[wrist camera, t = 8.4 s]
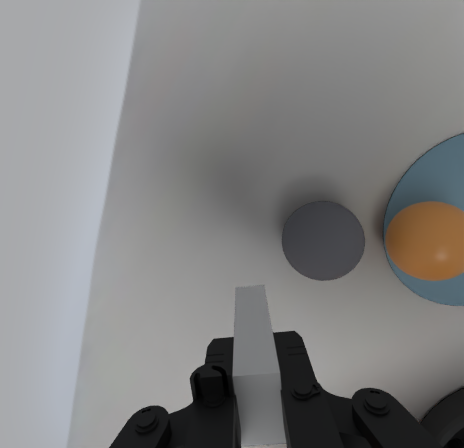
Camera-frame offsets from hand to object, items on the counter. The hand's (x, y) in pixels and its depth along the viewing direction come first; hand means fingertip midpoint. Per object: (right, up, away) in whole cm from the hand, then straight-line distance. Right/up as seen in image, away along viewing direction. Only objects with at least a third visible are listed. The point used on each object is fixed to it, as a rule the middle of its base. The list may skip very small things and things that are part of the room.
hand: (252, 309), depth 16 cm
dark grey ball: (+5, +3, +5) cm, 8 cm away
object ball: (+13, +3, +5) cm, 14 cm away
